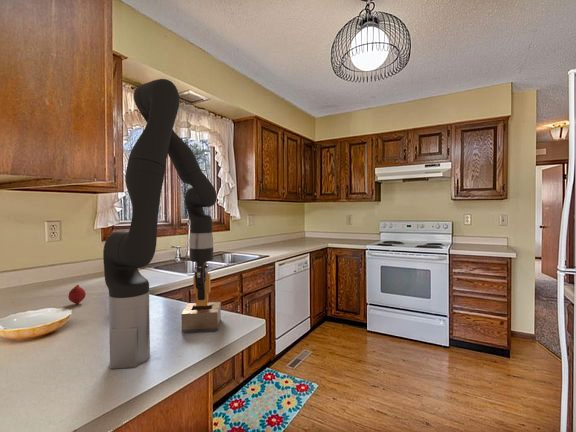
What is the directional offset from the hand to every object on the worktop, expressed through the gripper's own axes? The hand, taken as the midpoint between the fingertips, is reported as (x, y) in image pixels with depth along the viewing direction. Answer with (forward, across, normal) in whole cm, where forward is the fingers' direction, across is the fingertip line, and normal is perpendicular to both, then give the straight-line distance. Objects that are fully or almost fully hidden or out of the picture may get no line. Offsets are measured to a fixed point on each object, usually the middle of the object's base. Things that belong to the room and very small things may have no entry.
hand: (202, 297), depth 102 cm
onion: (+10, +32, +55) cm, 64 cm away
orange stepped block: (+2, 0, 0) cm, 2 cm away
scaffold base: (+9, 0, 0) cm, 9 cm away
